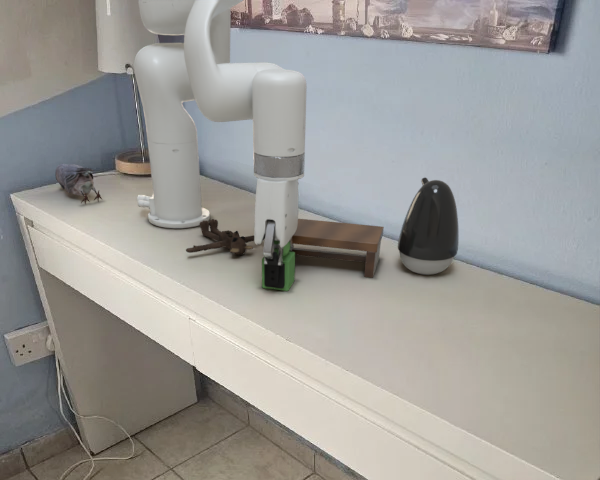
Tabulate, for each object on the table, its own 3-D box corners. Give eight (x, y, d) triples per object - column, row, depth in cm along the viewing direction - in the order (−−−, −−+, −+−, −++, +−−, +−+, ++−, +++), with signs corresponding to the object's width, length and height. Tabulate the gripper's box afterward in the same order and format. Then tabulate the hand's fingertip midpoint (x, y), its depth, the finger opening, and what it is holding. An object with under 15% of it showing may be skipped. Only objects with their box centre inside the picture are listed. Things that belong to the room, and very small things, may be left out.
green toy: (262, 288, 100) (261, 238, 95) (269, 277, 103) (268, 229, 99) (288, 291, 99) (289, 241, 95) (294, 280, 103) (295, 232, 98)
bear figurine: (248, 211, 123) (286, 225, 112) (249, 233, 125) (287, 248, 114) (163, 225, 115) (195, 242, 104) (166, 248, 117) (198, 267, 106)
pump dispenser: (439, 256, 114) (452, 171, 105) (463, 278, 105) (480, 187, 97) (386, 259, 112) (396, 173, 103) (407, 282, 103) (419, 190, 95)
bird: (73, 186, 145) (66, 154, 141) (106, 201, 136) (100, 167, 132) (51, 190, 142) (44, 157, 138) (83, 206, 133) (77, 171, 129)
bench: (271, 266, 108) (271, 233, 104) (284, 249, 115) (284, 217, 111) (374, 278, 104) (377, 243, 101) (380, 259, 112) (383, 226, 108)
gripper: (269, 150, 98) (269, 259, 108) (237, 177, 85) (241, 299, 95) (315, 154, 97) (311, 264, 107) (290, 181, 83) (288, 304, 93)
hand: (278, 279), depth 101 cm, fingers closed on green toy, 4 cm apart
